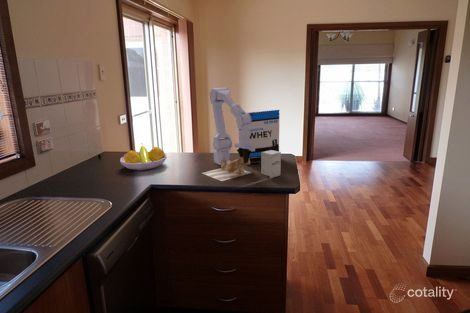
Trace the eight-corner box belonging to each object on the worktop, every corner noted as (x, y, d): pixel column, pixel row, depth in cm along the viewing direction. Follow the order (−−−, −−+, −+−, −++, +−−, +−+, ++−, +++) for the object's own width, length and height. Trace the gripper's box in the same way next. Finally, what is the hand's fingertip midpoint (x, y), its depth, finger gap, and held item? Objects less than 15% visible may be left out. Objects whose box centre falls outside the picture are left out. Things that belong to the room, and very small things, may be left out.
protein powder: (240, 163, 199) (239, 112, 191) (274, 157, 210) (274, 109, 202) (249, 166, 190) (248, 114, 183) (283, 160, 202) (284, 110, 194)
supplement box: (271, 178, 169) (271, 154, 166) (260, 175, 175) (260, 151, 171) (281, 175, 174) (281, 151, 170) (270, 172, 179) (270, 149, 176)
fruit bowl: (162, 173, 183) (161, 153, 180) (113, 174, 184) (111, 154, 181) (172, 159, 210) (171, 142, 207) (130, 160, 211) (128, 143, 208)
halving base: (201, 174, 178) (200, 164, 177) (230, 167, 190) (230, 157, 189) (221, 183, 164) (221, 171, 163) (252, 174, 176) (251, 163, 175)
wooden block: (230, 173, 171) (228, 164, 169) (228, 172, 172) (226, 163, 170) (250, 163, 179) (249, 155, 177) (248, 163, 180) (247, 154, 178)
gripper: (259, 137, 171) (259, 163, 174) (241, 134, 182) (241, 158, 185) (249, 139, 166) (249, 166, 170) (230, 136, 177) (231, 160, 181)
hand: (244, 162), depth 177 cm, fingers closed on wooden block, 2 cm apart
